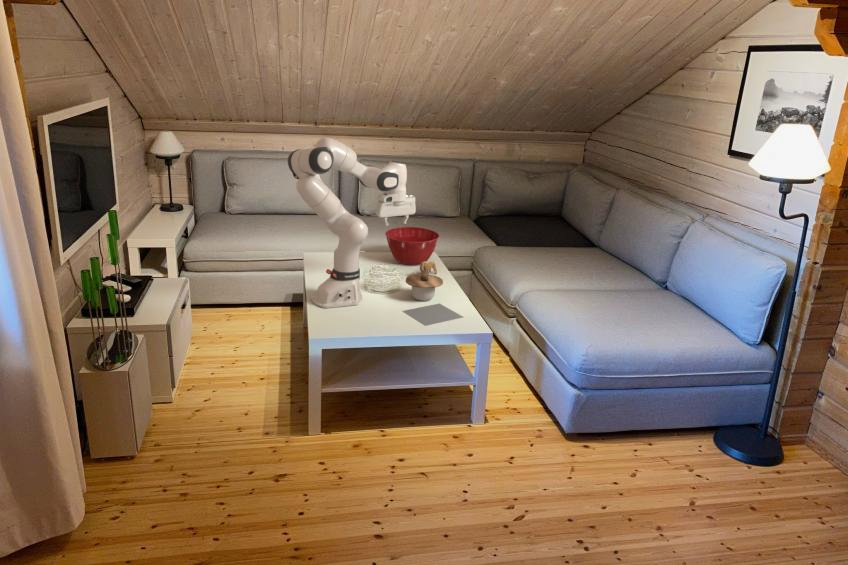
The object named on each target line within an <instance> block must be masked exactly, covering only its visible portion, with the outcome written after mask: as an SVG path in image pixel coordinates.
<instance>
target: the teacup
mask: <svg viewBox="0 0 848 565" xmlns="http://www.w3.org/2000/svg"><path fill="white" fill-rule="evenodd" d="M435 294H436V287H435V288H418V287H413V286H411V295H412V297H413V298H414V299H415V300H417V301H420V302H428V301H431V300H432V299H433V298H434V297H435Z"/></svg>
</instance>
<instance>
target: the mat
mask: <svg viewBox="0 0 848 565" xmlns="http://www.w3.org/2000/svg"><path fill="white" fill-rule="evenodd" d="M402 312H403V313H404V314H406V315H407V316H409V317H411V319H414V320H416V321H417V322H418V323H420V324H421V325H423V326H425V327H426V326H431V325H434V324H435V325H436V324H439V323H444V322H451V321H454V320H458V319H462V318H464V316H463V315H461V314H460V313H457V312H455V311H454V310H452V309H451V308H449V307H447V306H445V305H443V304H442V303H436V304H431V305H430V304H429V305H424V306H421V307H415V308H410V309H406V310H402Z"/></svg>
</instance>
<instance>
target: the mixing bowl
mask: <svg viewBox="0 0 848 565" xmlns="http://www.w3.org/2000/svg"><path fill="white" fill-rule="evenodd" d="M385 237H386V241H387V244H388V247H389V250H390V253H391V254H392V257H393V258H394V260H396V261H397V262H398V263H400V264H402V265H406V266H420V264H421V263H422V262H427V261H429V259H430V258H431V256H432V255H433V253H434V251H435V248H436V246H437V244H438V240H439V238H440V234H439V233H438V232H437V231H436V230H432V229H430V228H424V227H420V226H419V227H417V226H399V227H394V228H391V229H388V230H386V231H385Z"/></svg>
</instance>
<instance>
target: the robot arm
mask: <svg viewBox="0 0 848 565" xmlns="http://www.w3.org/2000/svg"><path fill="white" fill-rule="evenodd" d="M357 156H358V155H357V153H356V152H355V151H354V150H353V149H352V148H351V147H350V146H348V145H346V144H345V143H343V142H341V141H339V140H336V139H334V138H331V137H328V136H325V137H321V138H320V139H319V140H318V141H317V142H316V144H315V146H314V147H304V148H299V149H296V150H294V151H292V152H291V153H290V154H289V155H288V157H287V166H288V168H289V170H290V172H291V174H292V176H293V177H294V178H295V179H296V180H297V182H296V184H295V188H296V192H297V193H298V195H299V196H300V197H301V199H302V200H303V201H304V202H305V203H306V204H307V205H308V207H309V208H310V209H312V211H313V212H314V213H316V215H318V217H319V218H320V219H321V221H323V223H324V224H325V226H327V227H328V229H329V230H330V231H331V232H332V234H334V235H335V236H337V237H338V239H339V240H338V244H337V248H336V249H335V250H334V252H333V268H332V270H331V269H329V268H327V269H326V270H325V273H326V274H327V275H329V277H328V278H326V280H325V281H324V282H322V283H320V285H318V287H317V290H316V294H315V295H312V297H311V302H312V304H314V305H316V306H318V307H320V308H324V309H333V308H340V307H351V306H357V305H358V304H359V302H360V301H362V300H363V297H362V294H361V288H360V277H361V276H360V275H361V273H360V272H361V270H360V252H361V248H362V244H363V242H364V241H365V240H366V239H367V237H368V235H369V228H368V226H367V224H366V223H365V222H364V220H362V219H361V218H359V217H358V216H356V215H353V214H352V213H350V212H349V211H348V210H347V209H346V208H345V207H344V205H343V204H342V202H341V199H339V198H338V197H337V196H336V194H335V193H334V192H333V191H332V190H331V189H330V188H329V187H328V186H327V185H326V184H325V183H324V182H323V180H322V179H321V176H320V175H323V174H325V173H327V172H329V171H330V170H331V169H335V170H337V171H338V172H339V171H340V172H342V173H348V174H351V175H353V176H354V177H356V178H357V180H358V182H360V184H361V185H362V186H363V187H365V188H369V189H373V190H375V191H379V192H383V193H380V194H378V195H377V197H376V198H377V200H378V201H376V204H375V215H376V217H377V218H379V219H382V220H383V222H384V226H385V227H389V226H390V221H389V222H388V218H390V217H393V218H394V217H400V216H404V218H403V219H401V224H402V225H407V220H408V219H409V216H410V215H415V214H416V212H417V211H416V210H417V207H416V196H415V195H413V194H407V187H406V186H407V178H408V170H407V165H406V164H405V162H402V161H398V160H390V161H389V163H388V164H386V166H383V167H381V168H379V167H376V166H374V165H369V164H366V165H364V164H362V163H361V162H360V161H358V158H357Z"/></svg>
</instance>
